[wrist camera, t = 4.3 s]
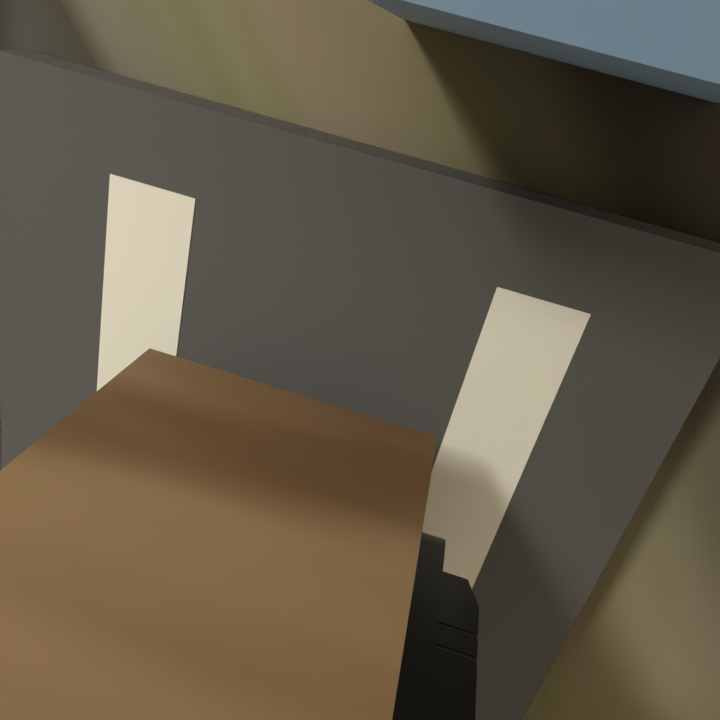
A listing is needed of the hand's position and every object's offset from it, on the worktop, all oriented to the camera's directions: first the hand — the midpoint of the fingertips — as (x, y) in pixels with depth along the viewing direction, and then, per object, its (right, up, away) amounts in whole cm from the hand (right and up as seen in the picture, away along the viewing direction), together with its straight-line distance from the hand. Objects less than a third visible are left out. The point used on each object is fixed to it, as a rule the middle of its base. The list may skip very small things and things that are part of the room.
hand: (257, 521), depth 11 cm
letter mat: (+1, +1, +3) cm, 3 cm away
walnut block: (0, 0, 0) cm, 0 cm away
